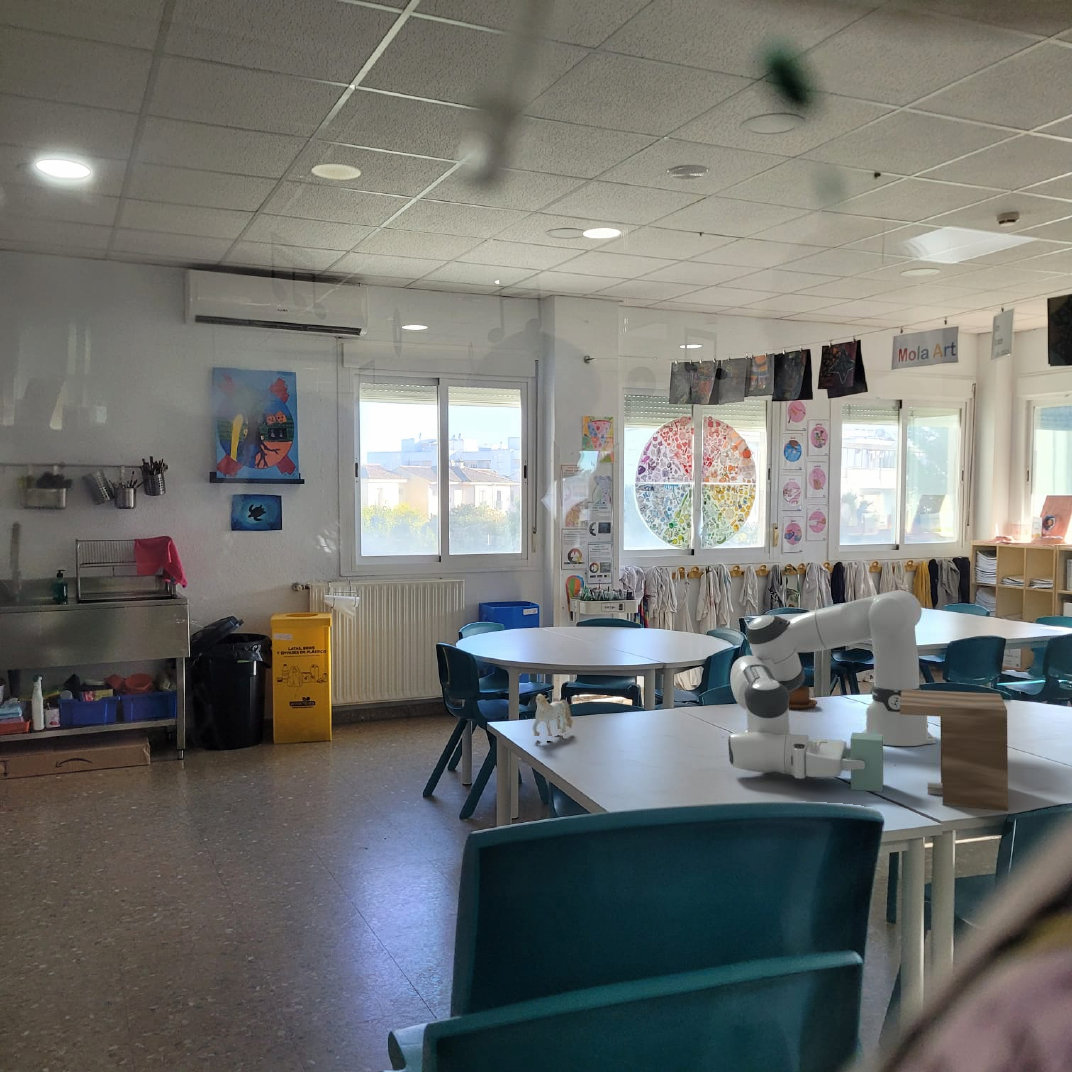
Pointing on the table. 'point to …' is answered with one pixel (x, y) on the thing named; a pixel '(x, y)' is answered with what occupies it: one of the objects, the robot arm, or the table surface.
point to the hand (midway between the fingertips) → (865, 759)
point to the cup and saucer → (801, 699)
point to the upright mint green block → (867, 761)
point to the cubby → (967, 745)
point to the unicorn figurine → (552, 714)
